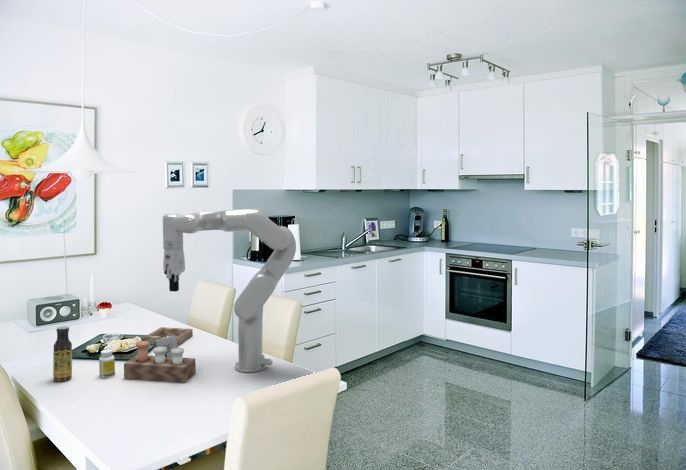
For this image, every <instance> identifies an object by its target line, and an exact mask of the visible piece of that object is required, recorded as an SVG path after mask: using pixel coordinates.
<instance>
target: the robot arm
mask: <svg viewBox="0 0 686 470" xmlns="http://www.w3.org/2000/svg"><path fill="white" fill-rule="evenodd" d="M202 231H203V232H204V231H205V232H206V231H224V232H227V233H228V232H229V233H230V232H231V233H232V232H243V231H245V232H247V231H249V232H250V233H251V234H252V235H254V236H255V237H256V238H257V239H259V240H260V242H262V243H264V244H265V245H266V246H268V247H269V248H270V249H272V250H273V252H272V253H271V255H270V256H269V257H268V258H267V261H266V262H265V263H264V265H263V266H262V267H261V268H260V270H259V271H257V272H256V273H255V274H254V275H253V277H252V278H251V279H250V280H249V282H248V283H247V285H246V286H245V288H244V289H243V291H242V292H241V293H240V294H239V296H238V298H237V299H236V300H235V302H234V304H233V310H234V314H235V315H236V317H237V318H238V325H237V326H238V337H237V338H238V342H237V343H238V361H237V362H235V364H234V369H235V371H237V372H241V373H256V372H260V371H263V370H264V369H266V368H267V366H272V365H273V359H271V358H266V357H265V354H263V321H264V320H263V315H264V305H265V304H266V302H267V301H268V300H269V298H270V297H271V296H272V294H273V293H274V292H275V290H276V288H277V286H278V284H279V282H280V280H281V279H282V278H283V276H284V274H285V273H286V272H287V270H288V269H289V267H290V266H291V264H292V262H293V261H294V258H295V255H296V252H297V251H296V250H297V242H296V238H295V236H294V234H293V232H292V231H291V229H290V228H288V227H287V226H284V225H283V226H282V225H280V226H279V225H278V224H276V223H275V222H274V221H272V220H271V219H270V218H269V215H268V213H267V211H266V210H264V209H263V208H259V207H255V208H241V209H240V208H239V209H226V210H225V209H224V210H220V211H205V212H204V211H203V212H193V213H188V214H179V213H168V214H164V215H163V216H162V243H163V244H162V245H163V246H162V248H163V260H162V261H163V274H164V275H166V279H168V282H169V283H168V284H169V289H168V290H169V292H175V293H177V292H178V291H179V290H180V283H179V282H180V276H181V274H182V273H184V272H185V270H186V261H185V252H184V234H195V233H197V232H198V233H199V232H202Z"/></svg>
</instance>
